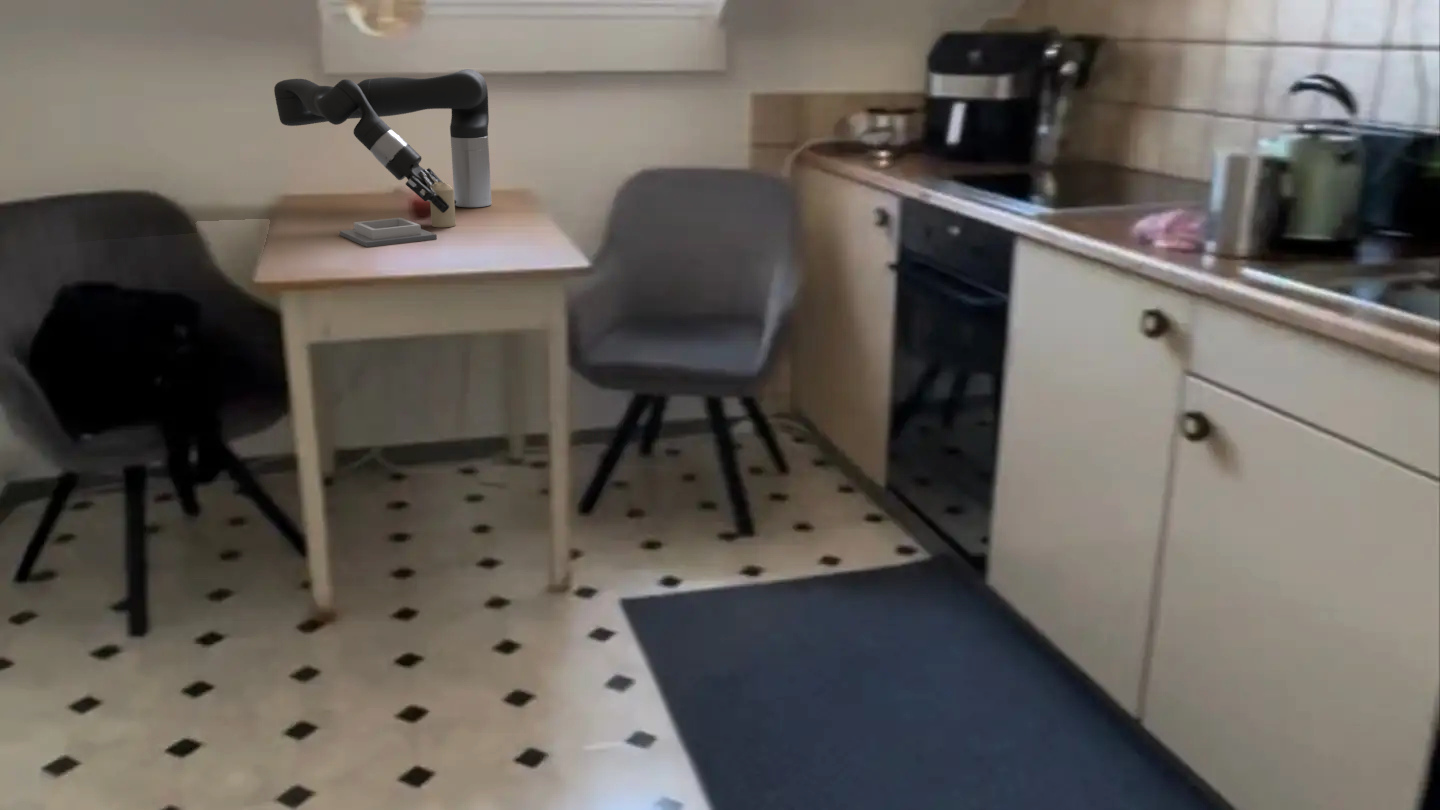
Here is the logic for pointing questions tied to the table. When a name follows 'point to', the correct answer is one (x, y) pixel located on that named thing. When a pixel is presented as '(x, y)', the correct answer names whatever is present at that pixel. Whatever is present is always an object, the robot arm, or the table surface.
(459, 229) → the table surface
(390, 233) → the candle tray
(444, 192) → the candle
